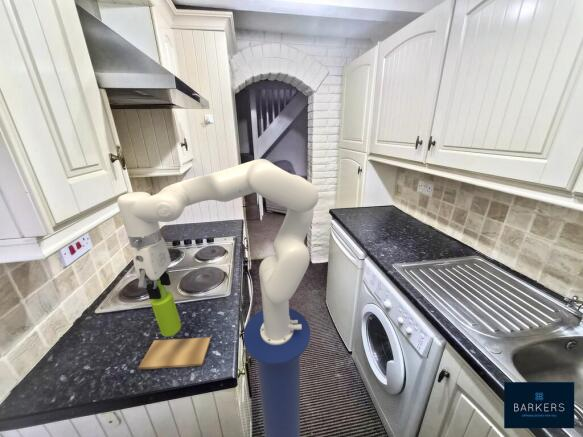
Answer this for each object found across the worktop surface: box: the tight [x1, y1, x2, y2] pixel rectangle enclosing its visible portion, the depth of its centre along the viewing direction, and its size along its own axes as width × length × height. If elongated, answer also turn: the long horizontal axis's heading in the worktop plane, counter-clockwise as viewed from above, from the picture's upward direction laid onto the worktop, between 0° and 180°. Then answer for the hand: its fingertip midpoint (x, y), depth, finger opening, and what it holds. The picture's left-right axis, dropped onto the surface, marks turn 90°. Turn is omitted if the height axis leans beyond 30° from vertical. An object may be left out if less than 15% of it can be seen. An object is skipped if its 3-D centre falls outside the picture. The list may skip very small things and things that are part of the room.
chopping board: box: [138, 336, 212, 370], centre depth 78 cm, size 20×10×1 cm, turn 93°
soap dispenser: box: [150, 279, 182, 338], centre depth 70 cm, size 6×7×20 cm
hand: (160, 290), depth 69 cm, fingers closed on soap dispenser, 5 cm apart
